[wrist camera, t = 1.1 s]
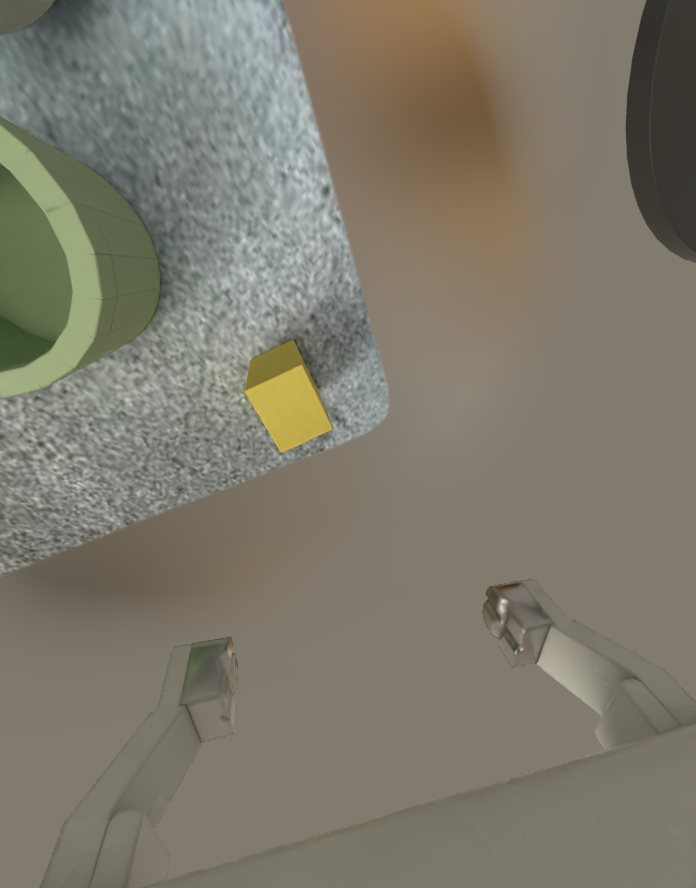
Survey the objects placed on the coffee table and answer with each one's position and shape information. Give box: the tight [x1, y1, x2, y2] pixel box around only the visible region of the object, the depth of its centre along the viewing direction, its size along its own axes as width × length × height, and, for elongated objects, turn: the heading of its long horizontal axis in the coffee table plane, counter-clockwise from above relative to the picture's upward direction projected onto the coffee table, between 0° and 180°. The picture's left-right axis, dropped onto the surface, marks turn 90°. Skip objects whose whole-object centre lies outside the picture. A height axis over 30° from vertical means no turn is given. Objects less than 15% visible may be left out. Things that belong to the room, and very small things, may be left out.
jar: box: [0, 117, 160, 398], centre depth 16 cm, size 10×10×8 cm
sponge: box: [245, 340, 333, 453], centre depth 22 cm, size 3×4×7 cm
